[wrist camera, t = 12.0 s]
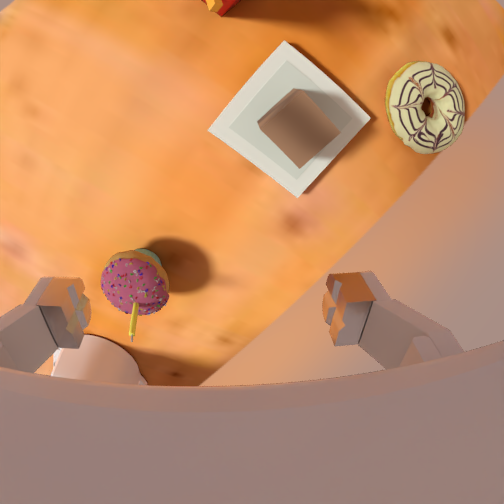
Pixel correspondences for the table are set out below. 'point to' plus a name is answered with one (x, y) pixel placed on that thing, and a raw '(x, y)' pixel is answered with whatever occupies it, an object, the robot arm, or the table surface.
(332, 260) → the table surface
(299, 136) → the walnut cube
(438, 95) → the decorated donut
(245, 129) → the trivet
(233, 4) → the french fries
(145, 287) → the cupcake
